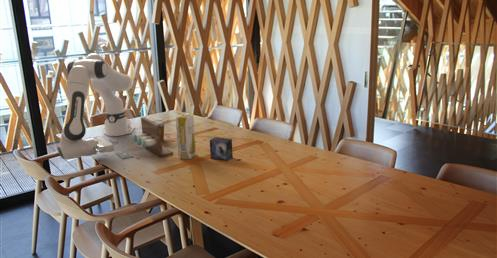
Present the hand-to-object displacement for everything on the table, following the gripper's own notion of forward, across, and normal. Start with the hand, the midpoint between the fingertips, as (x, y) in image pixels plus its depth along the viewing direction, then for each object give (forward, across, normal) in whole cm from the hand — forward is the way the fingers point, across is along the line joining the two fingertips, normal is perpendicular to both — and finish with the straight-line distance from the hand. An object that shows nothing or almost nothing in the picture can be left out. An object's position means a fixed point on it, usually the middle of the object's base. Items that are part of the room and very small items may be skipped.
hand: (117, 141), depth 231 cm
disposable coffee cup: (+28, +12, +8) cm, 32 cm away
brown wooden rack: (+20, -7, +8) cm, 23 cm away
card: (+2, -2, +8) cm, 8 cm away
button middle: (+13, -7, +2) cm, 15 cm away
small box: (+42, -40, +8) cm, 59 cm away
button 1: (+13, 0, +2) cm, 13 cm away
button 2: (+13, -14, +2) cm, 19 cm away
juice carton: (+29, -27, +8) cm, 40 cm away
